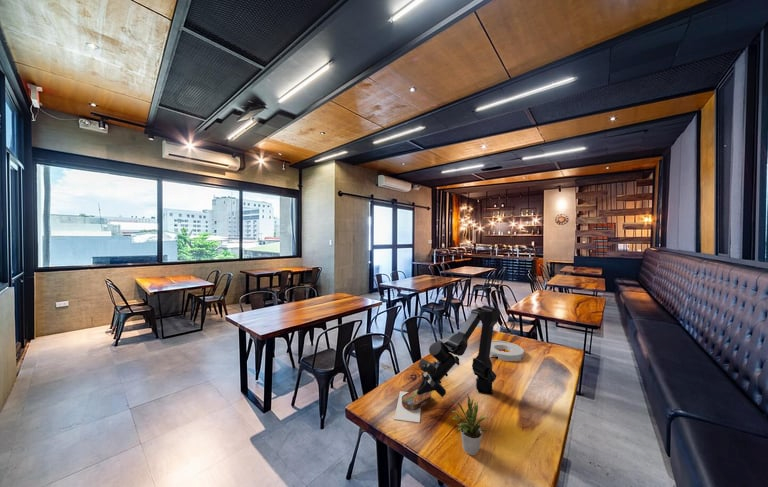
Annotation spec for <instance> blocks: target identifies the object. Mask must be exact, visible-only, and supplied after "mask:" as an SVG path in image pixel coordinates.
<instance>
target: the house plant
mask: <svg viewBox="0 0 768 487" xmlns="http://www.w3.org/2000/svg"><path fill="white" fill-rule="evenodd" d="M451 401H454V402H455V403H456V404H457V405H458V406H459V408H460V410H461V411H459V410H452V411H451V412H452V413H454V415H456V416H454V417H453V418H452V420H459V421H460V422H461V423H458V424H456V426H458V429H457V431H459V430H460V436H461V437H460V438H461V443H462V449H463V451H464V452H465V453H466V454H469V455H472V456H476V455H478V454H479V452H480V447H481V442H482V438H483V432H484V433H486V434H488V432H487V430H486V429H483V427H482V426H481V425H480V423H481V422H482V421H484V420H488V419H490V417H488V416H486V417H483V416H484V415H485V414H486V412H487V411H488V409H487V410H486V411H485V412H483V414H482V415H481V416H480V417H479V418H478V419H477V417H478V416H477V415H478V411H479V403H478V401H477V402H476V401H475V399H472V400H471V398H470V395H469V393H467V409H466V411H464V408H463V406H462V405H461V404H460V403H459V402H457V400H454V399H451ZM473 404H474V405H473ZM462 413H463V414H462ZM460 416H461V417H460ZM476 420H477V421H476Z"/></svg>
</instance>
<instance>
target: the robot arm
mask: <svg viewBox="0 0 768 487" xmlns="http://www.w3.org/2000/svg"><path fill="white" fill-rule="evenodd" d="M470 311H471V312H470V314H469V316H468V317H467V319H466V320H465V322H464V323H463V325H462V326H461V328H460V329H459V331H458V332H457V333H455V334H453V335H452V336H451V337H450V338H449V339H448V340H447V341H445V342H443V341H442V340H440V339H438V340H437V341H436V342H434V343H432V344H431V345H430V346H429V348H428V353H429V354H430V355H431V356H432V357H433V358H434V359H435V360H434V361H432V362H431V361H428V360H426V359H423V358H421V359H420V360H419V364H418V368H419V369H420V370H421V371H422V372H424V373H421V379H422V380H421V382H420V385H419V387H418V388H419V389H418V391H417V394H418V395H421V394H424V393H427V392H433V391H435V392H436V393H438V395H439V396H440V397H442V398H443V397H444V396H445V395H446V394H447V391H446V389H445V387H444V386H443V385H442V384H441V383H442V381H441V380H442V379H443V378H444V377H448V376H449V374H448V372H450V370H451V369H452V368H453V367H454V366H455V365H457V366H459V365H460V358H459V357H460V356H463V355H464V354H465V353H466V350H467V348H468V343H469V342H468V341H469V339H470V337H471V335H472V334H473V333H474V331H475V330H476V328H477V327H478V325H479V324H480V322H481V324H482V325H481V330H480V331H481V332H480V337H479V338H480V340H479V347H478V353H477V356H476V357H473V358H472V364H471V367H472V371H473V374H474V376H477V377H476V378H475V389H476V390H477V392H478V393H479V394H487V395H493V394H494V392H493V383H494V382H495V380H496V378H497V374H496V373H495V372H494V371H493V364H492V363H493V362H492V360H491V357H490V349H491V341H493V331H494V327H495V326H496V324H497V323H498V321H499V318H500V311H499V309H498V308H497V307H493V306H489V305H486V304H484V305H482V306H478V307H476V308H472V309H471V310H470ZM478 393H477V394H478Z"/></svg>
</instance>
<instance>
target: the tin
mask: <svg viewBox="0 0 768 487" xmlns="http://www.w3.org/2000/svg"><path fill="white" fill-rule="evenodd" d="M418 389H419V387H417V388H414V389H412V390H410V391H407V392H408V393H407V394H405V395H403V396H402V405H403V406H404V407H405V408H407V409H409V410H416V409H419V408H420V407H421V408H422V407H423V406H425V405H427V404H428V403H430V402H431V400H432V391H430V392H427V393H424V394H421V395H418V394H417V391H418Z"/></svg>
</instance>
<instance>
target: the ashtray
mask: <svg viewBox="0 0 768 487" xmlns="http://www.w3.org/2000/svg"><path fill="white" fill-rule="evenodd" d="M497 349H505V350H508V351H510V352H504V351H499V350H497ZM524 356H525V349H523V347H521V346H520V345H518V344H516V343H513V342H510V341H509V342H508V341H504V340H492V341H491V349H490V358H491V357H498V358H497V360H498V361H501V360H503V362H508V361H516V362H520V361H522V359H524V358H525V357H524Z"/></svg>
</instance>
